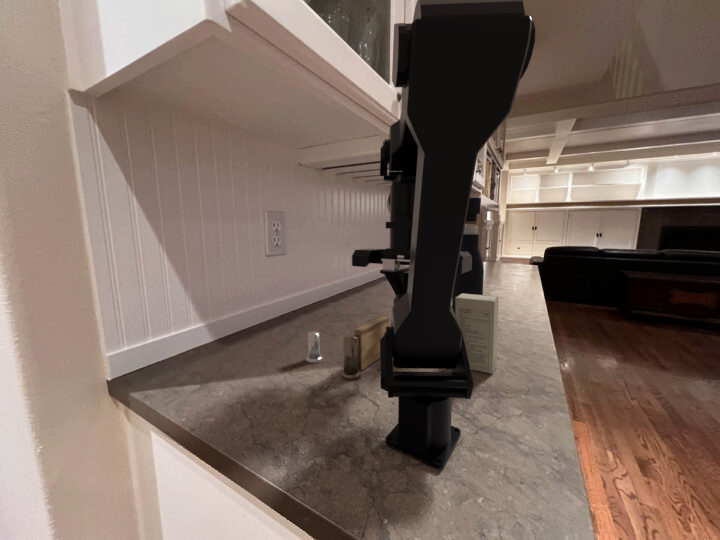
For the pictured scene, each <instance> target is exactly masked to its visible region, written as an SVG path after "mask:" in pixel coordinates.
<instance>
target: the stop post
mask: <svg viewBox="0 0 720 540" xmlns="http://www.w3.org/2000/svg"><path fill="white" fill-rule="evenodd" d="M307 343H308V354H307V356H305V361H306V362H307V364H308V363H309V364H319V363H321V362H322V361H323V360H324V357H323V354H321V350H320V349H321V347H320V346H321V345H320V344H321V343H320V332H319V331H314V330H313V331H312V330H311V331H309V332H308V334H307Z"/></svg>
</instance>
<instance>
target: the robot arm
mask: <svg viewBox="0 0 720 540" xmlns="http://www.w3.org/2000/svg"><path fill="white" fill-rule="evenodd" d="M535 42H536V25H535V22H534V20H532V17H531V15H530V14H526V12H525V6H524V0H416V3H415V6H414V11H413V19H412V22H411V23H409V22H408V23H406V22H398V23H393V42H392V43H393V45H392V65H391V67H392V68H391V70H392V71H391V73H392V74H391V82H392V84H393V88H394V89H395V88H396V89H397V88H401V99H400V100H401V103H400V104H401V107H400V110H401V112H400V117H399V119H398V120H397V121H395V122H394V123H392V124H391V125H390V126H389V130H388V131H389V133H388V139H386V138H385V139H384V141H383V142H382V146H381V147H380V154H379V157H380V159H379V177H382V182H383V183H391V185H390V186H389V190H390V191H389V192H390V193H389V195H388V196H387V199H386V207H387V211H388V212H389V221H385V229H389V247H386V248H360V249H355V250H354V252H353V253H352V255H351V267H358V268H359V267H360V268H367V267H368V266H369V265H370V264H378V265H382V269H380V270H379V273H380V274H381V275H384V276H385V278H386V280H387V282H388V283H389V285H390V287H391V289H392V290H393V292H394V294H395V297H394V299H393V306H392V308H391V318H390V325H389V326H386V332H384V336H383V337H382V338H381V339H380V358H379V359H380V361H379V362H380V363H379V364H380V379H379V381H380V389H382V390H384V391H385V392H387V397H388V399H394V398H397V399H398V402H397V404H398V407H397V408H398V411H397V412H398V414H397V417H398V418H397V424H396V425H395V426H394V428H392V429H391V431H390V432H389V433H388V434H387V435H386V436H385V445H387V446H390V447H392V448H394V449H395V450H397V451H399V452H402V453H404V454H406V455H408V456H410V457H412V458H415V459H417V460H418V461H420V462H423V463H425V464H427V465H429V466H431V467H433V468H435V469H438V470H442V469H444V468H445V466H446V464H447V463H448V460H449V458H450V456H451V455H452V453H453V450H454V449H455V447H456V445H457V443H458V441H459V439H460V437H461V435H462V434H461V433H462V431H461V429H460V428H459V427H456V426H453V425H452V412H453V409H452V406H453V399H465V400H472V395H473V390H474V380H473V375H472V371H471V370H472V369H470V366H469V361H468V356H467V352H466V347H465V342H464V337H463V333H462V330H461V328H460V326H459V323H458V321H457V318H456V316H455V313H454V310H453V308H452V297H453V291H454V285H455V279H456V274H463V273H465V272H468V271H470V270H472V257H471V255H470V254H469V252H464V251H461V245H462V240H463V234H464V228H465V226H466V224H465V223H466V217H467V211H468V206H469V200H470V198H471V193H472V187H473V183H474V176H475V172H476V171H475V170H476V165H477V160H478V157H479V156H478V155H479V153H480V151H481V150H482V149H483V147H484V146H485V145H486V144H487V143H488V141H489V140H490V139H491V138H492V136H493V135H494V134H495V133H496V131H497V130H498V128H500V126H501V125H502V124H503V122H504V121H505V120H506V119H507V118H508V116H509V114H510V113H511V111H512V108H513V106H514V103H515V98H516V95H517V92H518V88H519V84H520V81H521V80H522V79H523V77H524V75H525V74H526V71H527V69H528V68H529V64H530V61H531V59H532V57H533V51H534V47H535ZM402 256H403V257H402ZM406 266H408V267H406ZM394 369H417V370H418V369H431V370H432V369H436V370H437V369H438V370H452V371H400V370H398V371H396V370H395V371H394Z"/></svg>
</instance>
